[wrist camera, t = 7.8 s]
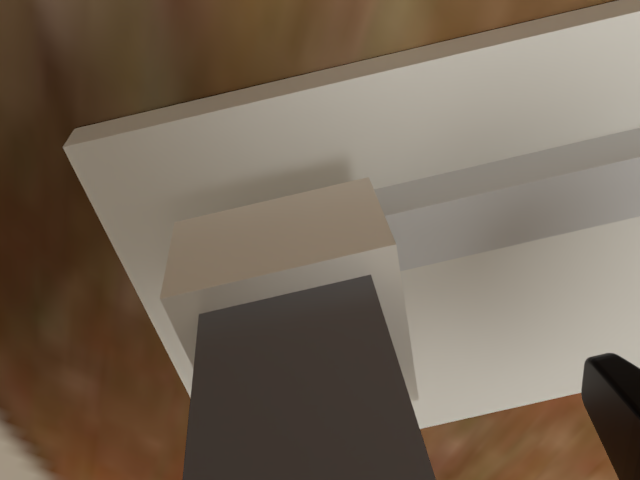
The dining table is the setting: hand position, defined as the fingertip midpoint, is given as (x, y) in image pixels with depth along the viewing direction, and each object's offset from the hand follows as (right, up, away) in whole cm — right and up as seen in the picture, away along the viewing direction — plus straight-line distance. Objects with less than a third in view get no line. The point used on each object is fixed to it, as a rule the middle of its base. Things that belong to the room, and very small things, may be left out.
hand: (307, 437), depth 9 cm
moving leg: (0, +2, +5) cm, 6 cm away
